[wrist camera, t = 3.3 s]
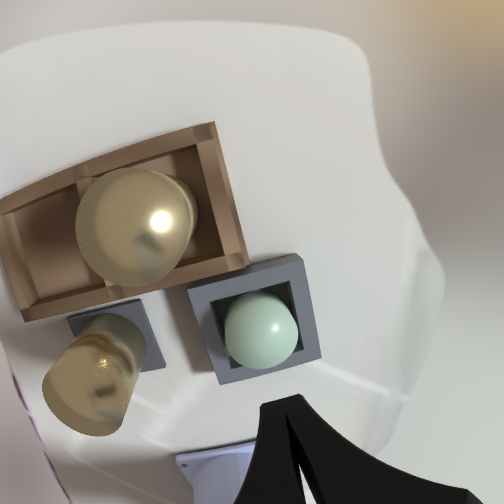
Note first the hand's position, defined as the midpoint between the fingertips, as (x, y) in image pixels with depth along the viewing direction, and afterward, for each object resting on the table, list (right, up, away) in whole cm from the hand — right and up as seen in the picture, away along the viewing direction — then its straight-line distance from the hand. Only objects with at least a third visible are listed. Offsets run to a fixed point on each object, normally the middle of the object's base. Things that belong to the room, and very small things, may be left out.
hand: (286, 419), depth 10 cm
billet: (-9, 0, +8) cm, 12 cm away
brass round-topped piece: (-6, +7, +6) cm, 11 cm away
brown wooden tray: (-9, +7, +7) cm, 13 cm away
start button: (-1, +2, +8) cm, 8 cm away
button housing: (-1, +2, +9) cm, 9 cm away
